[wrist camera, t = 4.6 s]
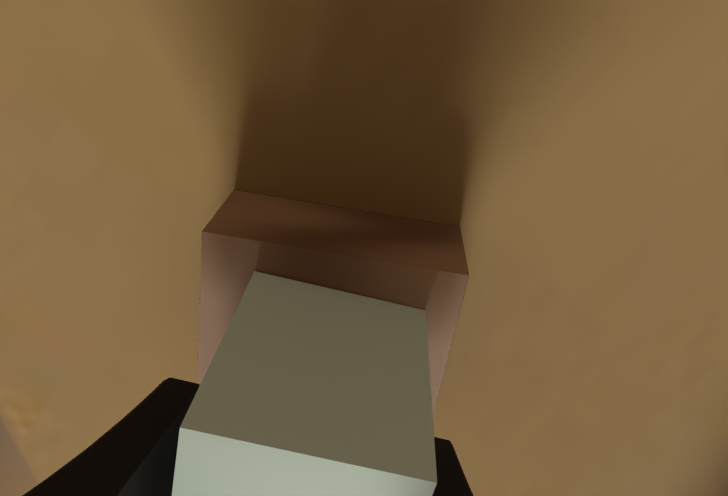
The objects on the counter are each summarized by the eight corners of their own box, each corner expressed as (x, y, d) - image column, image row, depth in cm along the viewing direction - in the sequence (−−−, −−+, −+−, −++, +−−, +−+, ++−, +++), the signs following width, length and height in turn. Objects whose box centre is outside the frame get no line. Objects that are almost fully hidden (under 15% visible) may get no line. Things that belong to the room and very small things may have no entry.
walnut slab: (458, 222, 16) (469, 275, 13) (416, 396, 19) (418, 470, 16) (237, 185, 16) (201, 231, 13) (226, 365, 18) (195, 434, 16)
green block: (426, 310, 14) (437, 483, 9) (384, 437, 15) (376, 636, 11) (254, 271, 13) (179, 427, 9) (231, 404, 15) (159, 591, 11)
